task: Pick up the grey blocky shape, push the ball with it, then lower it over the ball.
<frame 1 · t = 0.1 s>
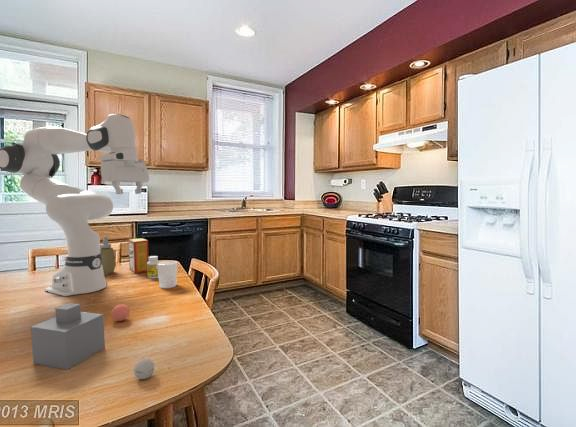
hand: (129, 194, 119), 39 cm above the table, tool pointing down, fingers open, 8 cm apart
squeeze bottle: (106, 273, 152), on the table
grey blocky shape: (70, 355, 76), on the table
baking soda box: (139, 271, 157), on the table
white cup: (168, 286, 131), on the table
supplement bottle: (153, 277, 145), on the table
ball: (120, 312, 96), on the table
golf ball: (144, 378, 67), on the table
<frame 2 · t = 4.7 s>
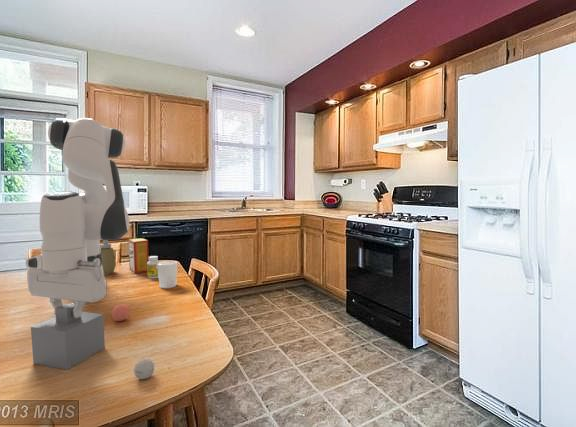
hand: (68, 315, 76), 10 cm above the table, tool pointing down, fingers closed on grey blocky shape, 3 cm apart
grey blocky shape: (70, 355, 76), on the table, touching gripper
everything else where it was.
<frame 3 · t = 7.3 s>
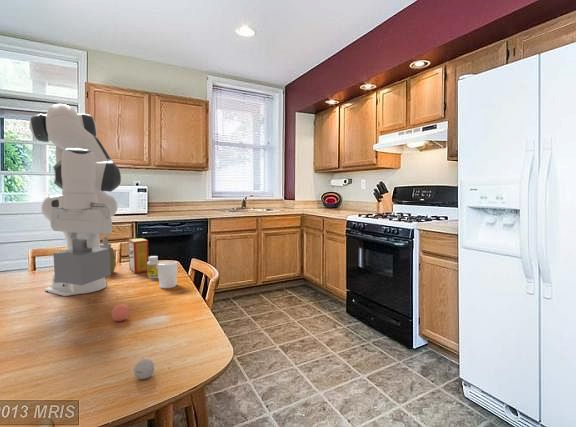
hand: (82, 247, 96), 23 cm above the table, tool pointing down, fingers closed on grey blocky shape, 3 cm apart
grey blocky shape: (83, 278, 97), point 13 cm above the table, touching gripper
everything else where it was.
when the fingers open (12 cm above the table, at t = 10.1 s): grey blocky shape stays where it is, resting on ball.
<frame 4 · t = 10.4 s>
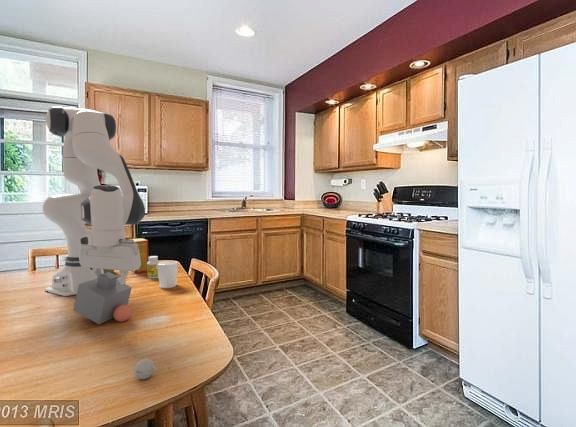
hand: (111, 282, 96), 12 cm above the table, tool pointing down, fingers open, 7 cm apart
grey blocky shape: (100, 311, 98), point 2 cm above the table, tilted 19°, touching ball, gripper
ball: (122, 313, 96), on the table, touching grey blocky shape
everything else where it was.
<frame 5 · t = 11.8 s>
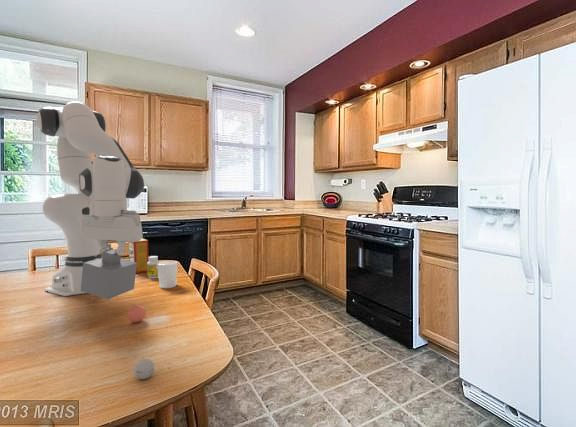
hand: (112, 254, 96), 21 cm above the table, tool pointing down, fingers closed on grey blocky shape, 4 cm apart
grey blocky shape: (108, 289, 97), point 9 cm above the table, tilted 10°, touching gripper
ball: (136, 313, 95), on the table
everything else where it was.
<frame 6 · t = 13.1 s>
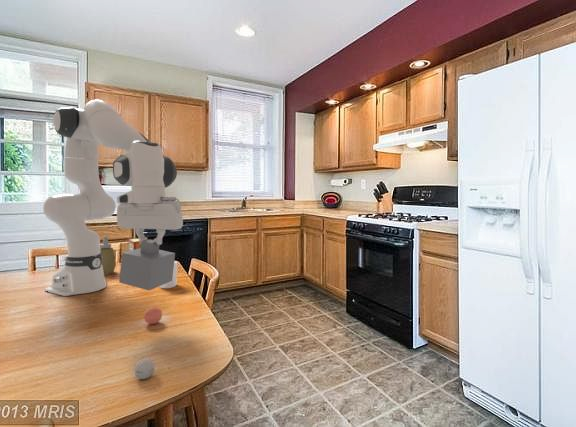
hand: (150, 244, 92), 24 cm above the table, tool pointing down, fingers closed on grey blocky shape, 4 cm apart
grey blocky shape: (146, 281, 93), point 13 cm above the table, tilted 8°, touching gripper
ball: (153, 315, 94), on the table
everything else where it was.
when the fingers open (11 cm above the table, at t = 16.5 s): grey blocky shape stays where it is, on the table.
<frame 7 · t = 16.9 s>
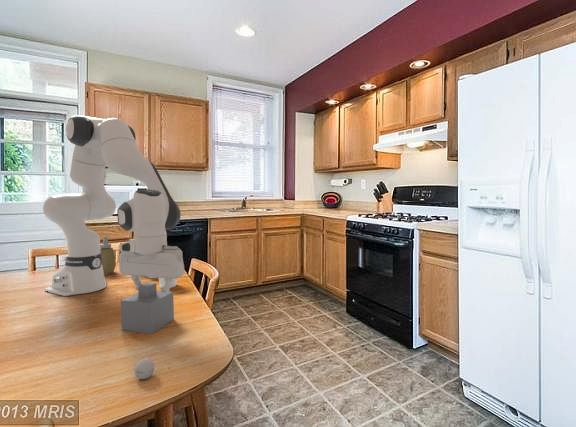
hand: (152, 290, 93), 10 cm above the table, tool pointing down, fingers open, 8 cm apart
grey blocky shape: (148, 324, 94), on the table
everything else where it was.
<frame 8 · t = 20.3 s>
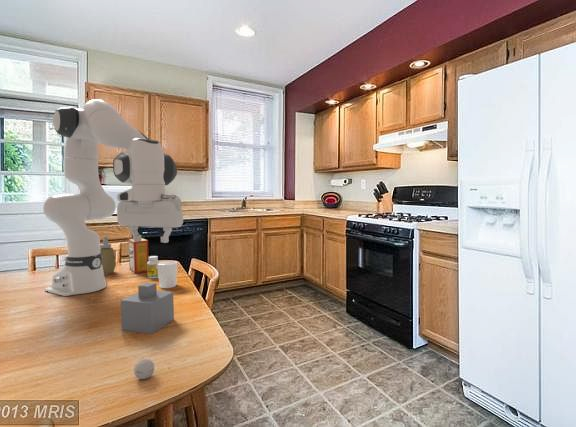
hand: (150, 241, 92), 25 cm above the table, tool pointing down, fingers open, 8 cm apart
nothing on the table moved.
at the end: ball 1.3 cm from the grey blocky shape (horizontally); grey blocky shape on the table; ball moved 11.3 cm from its start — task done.
